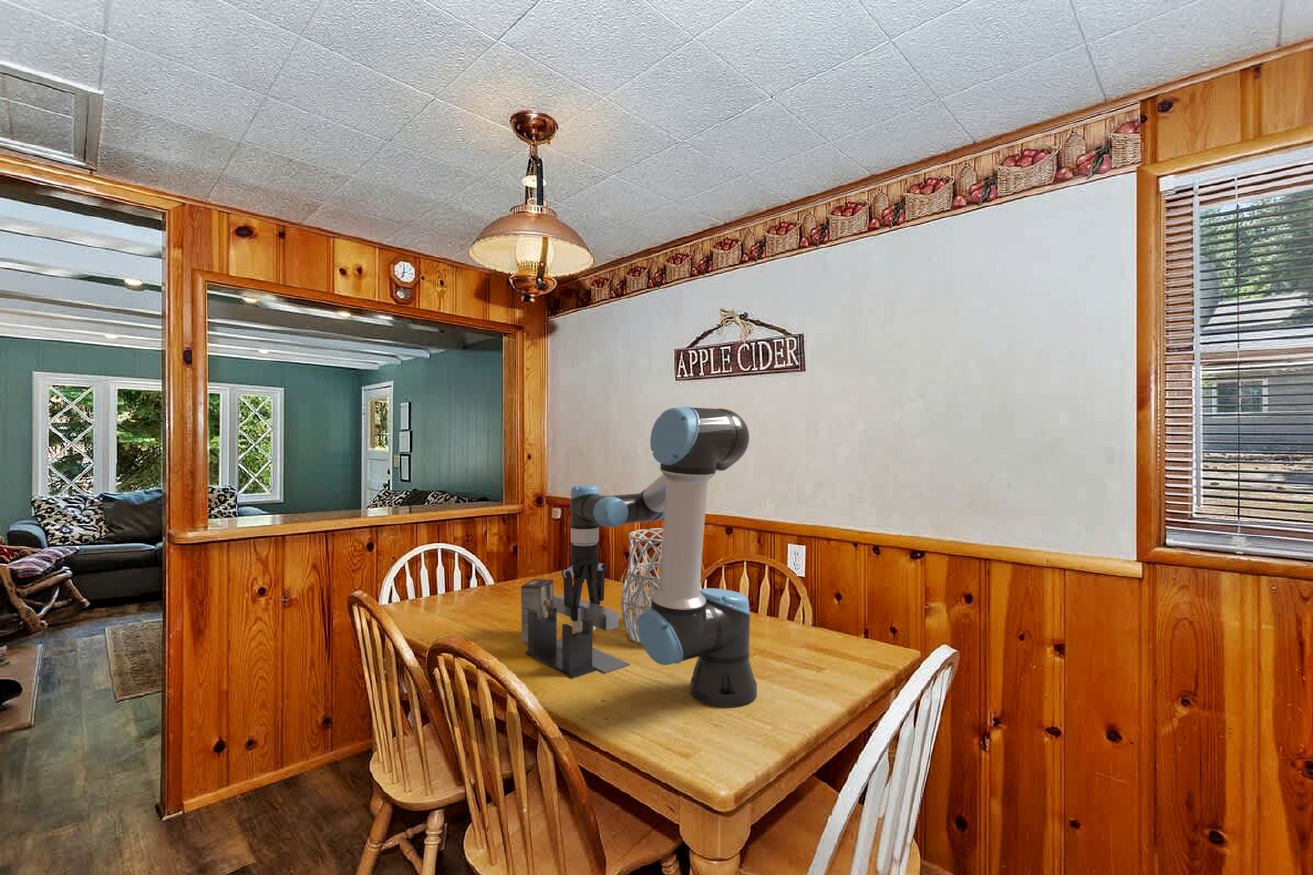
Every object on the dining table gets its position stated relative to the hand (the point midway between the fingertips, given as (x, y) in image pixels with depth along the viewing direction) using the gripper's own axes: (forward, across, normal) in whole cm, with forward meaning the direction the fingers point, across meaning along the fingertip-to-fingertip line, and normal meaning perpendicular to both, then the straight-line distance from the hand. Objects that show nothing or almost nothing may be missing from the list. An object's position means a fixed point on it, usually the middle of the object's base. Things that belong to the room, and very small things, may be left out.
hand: (584, 630), depth 161 cm
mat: (+6, 0, 0) cm, 6 cm away
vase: (+7, -26, +3) cm, 27 cm away
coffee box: (+7, +2, -20) cm, 21 cm away
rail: (-3, 0, 0) cm, 3 cm away
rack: (+6, +8, 0) cm, 10 cm away
